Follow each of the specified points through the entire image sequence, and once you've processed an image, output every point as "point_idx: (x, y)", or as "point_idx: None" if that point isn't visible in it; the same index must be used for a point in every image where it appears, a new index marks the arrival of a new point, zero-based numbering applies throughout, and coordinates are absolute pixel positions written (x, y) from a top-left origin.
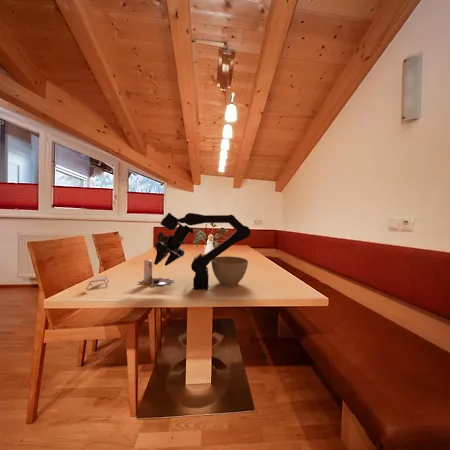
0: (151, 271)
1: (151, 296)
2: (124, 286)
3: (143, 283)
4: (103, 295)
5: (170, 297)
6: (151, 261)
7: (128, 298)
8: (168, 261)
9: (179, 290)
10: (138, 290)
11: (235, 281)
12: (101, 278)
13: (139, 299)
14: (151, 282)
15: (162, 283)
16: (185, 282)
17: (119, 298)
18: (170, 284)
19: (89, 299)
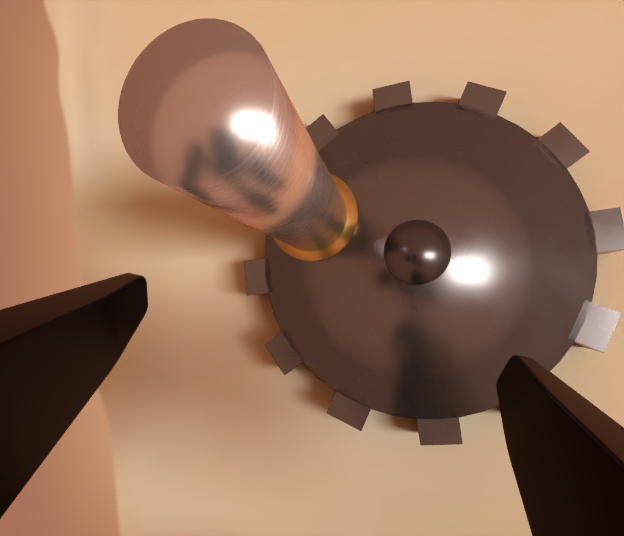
0: (257, 228)
1: (142, 328)
2: (334, 22)
3: (348, 158)
4: (127, 31)
5: (137, 464)
6: (174, 187)
7: (94, 204)
8: (549, 467)
9: (302, 504)
10: None
11: None
12: None
13: (85, 277)
14: (298, 248)
15: (382, 329)
16: None
17: (90, 154)
18: (362, 417)
19: (62, 12)
